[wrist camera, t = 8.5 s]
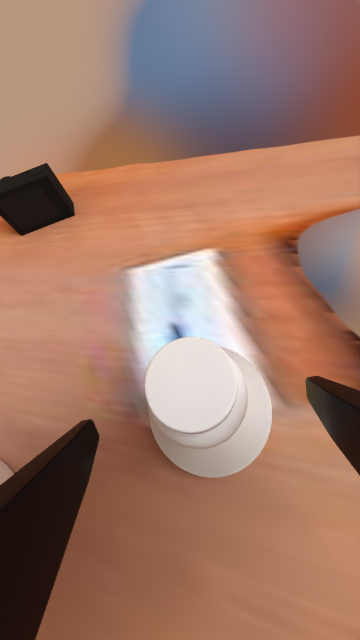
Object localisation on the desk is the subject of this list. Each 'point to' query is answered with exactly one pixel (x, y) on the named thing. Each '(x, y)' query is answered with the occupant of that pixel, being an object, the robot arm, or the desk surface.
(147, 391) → the supplement bottle
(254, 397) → the plinth
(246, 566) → the desk surface
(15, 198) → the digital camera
